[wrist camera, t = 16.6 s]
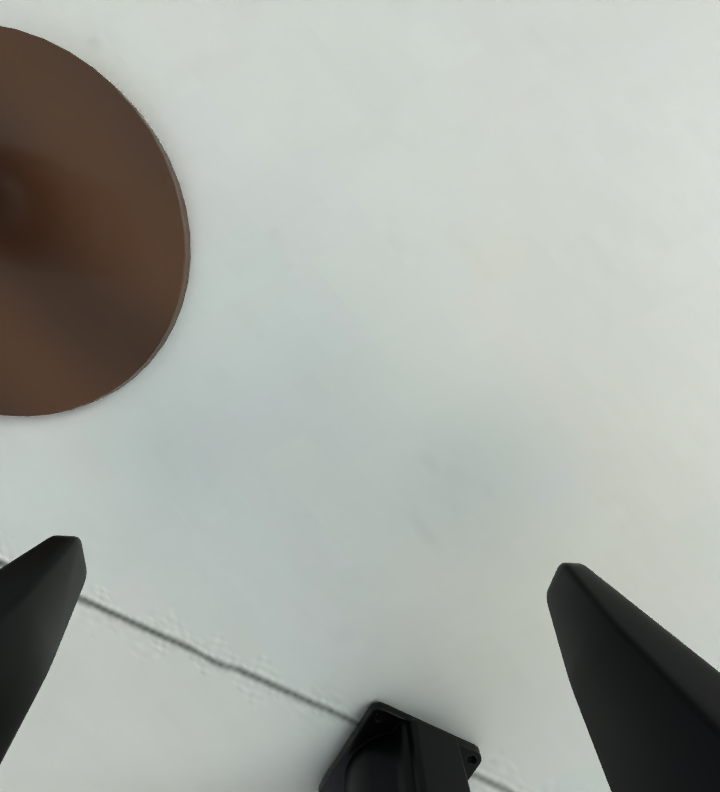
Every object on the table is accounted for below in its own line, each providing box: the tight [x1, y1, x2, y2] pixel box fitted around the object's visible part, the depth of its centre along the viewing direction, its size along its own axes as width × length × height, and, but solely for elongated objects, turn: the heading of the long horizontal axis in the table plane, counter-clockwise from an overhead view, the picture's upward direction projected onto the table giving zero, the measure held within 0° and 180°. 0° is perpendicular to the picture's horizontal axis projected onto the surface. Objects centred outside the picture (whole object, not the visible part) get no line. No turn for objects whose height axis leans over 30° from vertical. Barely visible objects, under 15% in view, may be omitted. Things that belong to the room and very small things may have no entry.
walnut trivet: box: [0, 26, 190, 416], centre depth 18 cm, size 15×15×1 cm
